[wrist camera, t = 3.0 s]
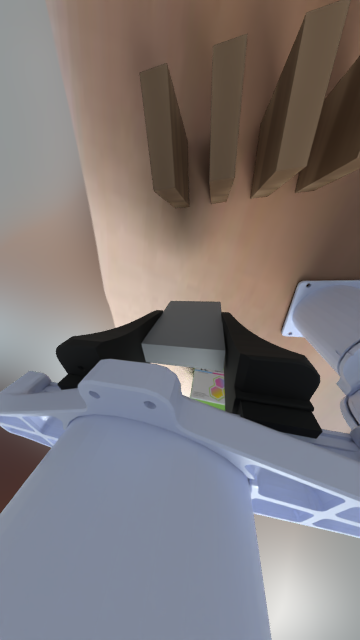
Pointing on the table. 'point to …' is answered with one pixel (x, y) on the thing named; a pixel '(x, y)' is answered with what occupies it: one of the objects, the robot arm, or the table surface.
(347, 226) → the table surface
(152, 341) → the domino
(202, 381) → the ink box
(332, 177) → the domino
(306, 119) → the domino
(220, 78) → the domino
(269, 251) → the table surface
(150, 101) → the domino
